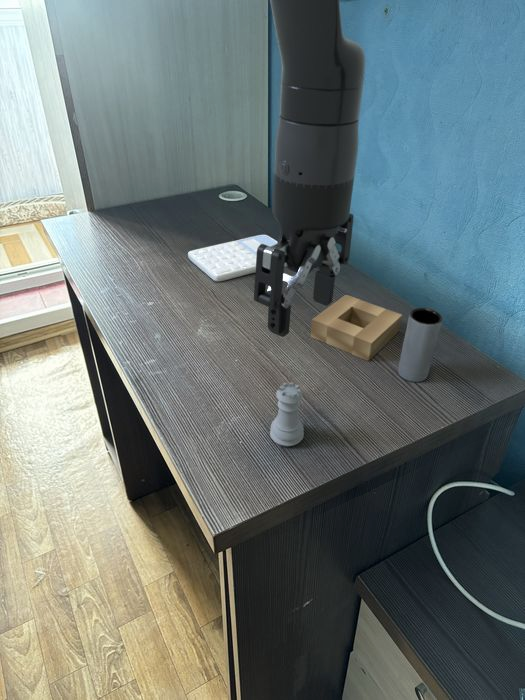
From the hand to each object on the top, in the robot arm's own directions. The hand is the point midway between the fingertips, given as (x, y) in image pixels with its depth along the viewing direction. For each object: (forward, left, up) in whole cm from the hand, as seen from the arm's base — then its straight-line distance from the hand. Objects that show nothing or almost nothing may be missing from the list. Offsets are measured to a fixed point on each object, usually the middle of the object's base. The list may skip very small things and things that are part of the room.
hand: (301, 317), depth 58 cm
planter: (-7, -22, -18) cm, 30 cm away
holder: (+5, -26, -18) cm, 32 cm away
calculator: (+38, -36, -18) cm, 56 cm away
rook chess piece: (0, +1, -18) cm, 18 cm away
